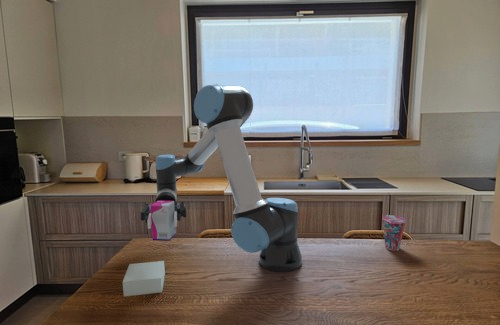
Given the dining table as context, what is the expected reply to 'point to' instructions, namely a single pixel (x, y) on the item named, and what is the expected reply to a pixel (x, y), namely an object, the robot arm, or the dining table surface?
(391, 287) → the dining table surface
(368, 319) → the dining table surface
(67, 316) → the dining table surface
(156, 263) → the base block
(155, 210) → the supplement box
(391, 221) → the cup
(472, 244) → the dining table surface
